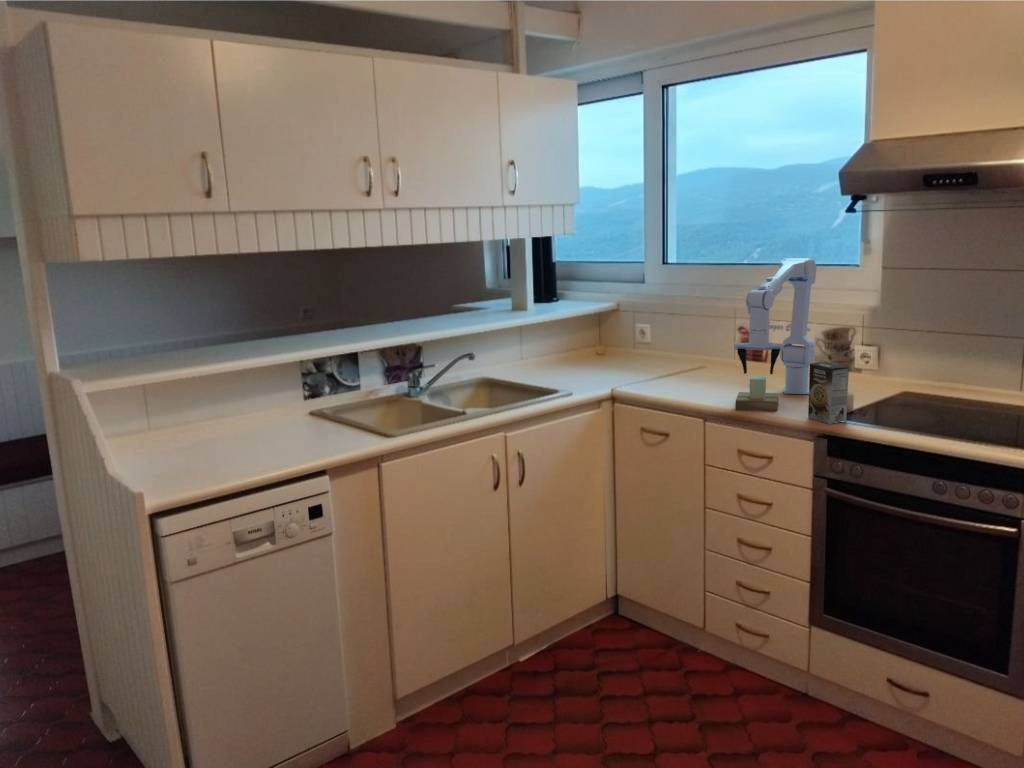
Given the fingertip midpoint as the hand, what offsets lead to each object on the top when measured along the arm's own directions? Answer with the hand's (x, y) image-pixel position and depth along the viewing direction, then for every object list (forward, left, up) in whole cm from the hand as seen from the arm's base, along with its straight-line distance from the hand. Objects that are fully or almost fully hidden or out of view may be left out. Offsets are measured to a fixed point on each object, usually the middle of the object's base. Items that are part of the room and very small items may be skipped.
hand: (758, 373), depth 251 cm
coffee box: (+14, +20, -11) cm, 27 cm away
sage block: (0, 0, -7) cm, 7 cm away
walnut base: (0, 0, -10) cm, 10 cm away
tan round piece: (+1, +25, -10) cm, 27 cm away
